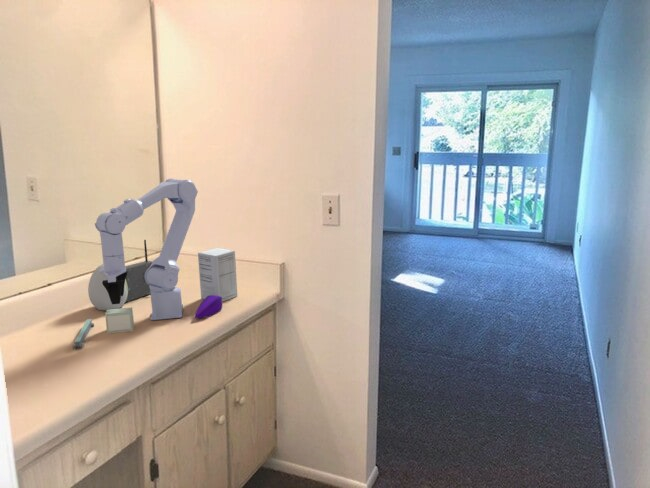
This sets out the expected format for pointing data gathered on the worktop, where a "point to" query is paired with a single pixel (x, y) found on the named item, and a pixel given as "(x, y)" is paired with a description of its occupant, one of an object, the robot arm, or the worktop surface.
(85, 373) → the worktop surface
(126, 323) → the soap box
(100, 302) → the decorative egg
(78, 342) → the rail
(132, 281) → the electronic device
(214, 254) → the supplement box
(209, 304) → the crystal
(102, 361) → the worktop surface
